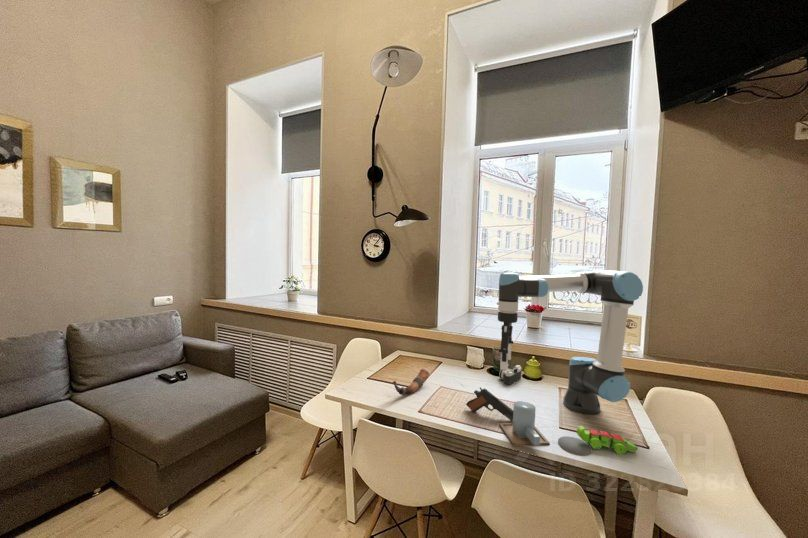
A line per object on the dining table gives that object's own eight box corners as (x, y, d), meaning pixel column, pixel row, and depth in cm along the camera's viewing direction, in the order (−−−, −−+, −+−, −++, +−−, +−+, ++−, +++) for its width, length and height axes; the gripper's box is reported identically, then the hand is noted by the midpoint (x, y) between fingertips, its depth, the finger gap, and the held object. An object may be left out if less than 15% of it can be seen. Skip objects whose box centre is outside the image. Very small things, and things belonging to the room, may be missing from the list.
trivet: (579, 438, 123) (579, 436, 123) (598, 456, 112) (598, 453, 112) (552, 438, 123) (552, 436, 122) (568, 456, 112) (568, 454, 112)
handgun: (466, 403, 145) (479, 383, 142) (503, 433, 137) (518, 413, 134) (464, 405, 143) (478, 385, 140) (502, 436, 135) (517, 415, 132)
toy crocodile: (631, 449, 118) (633, 433, 118) (639, 460, 111) (642, 443, 111) (573, 435, 123) (575, 420, 122) (577, 445, 116) (580, 429, 116)
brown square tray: (531, 425, 132) (532, 422, 132) (549, 445, 118) (549, 442, 118) (499, 425, 131) (499, 423, 131) (512, 445, 117) (513, 443, 117)
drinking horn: (430, 385, 170) (431, 366, 169) (397, 404, 146) (398, 383, 146) (421, 382, 173) (422, 364, 172) (388, 401, 149) (388, 380, 149)
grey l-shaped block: (509, 427, 128) (510, 401, 128) (528, 427, 129) (529, 401, 128) (525, 450, 113) (527, 420, 113) (547, 450, 114) (548, 420, 113)
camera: (509, 375, 187) (510, 359, 187) (523, 380, 181) (524, 362, 181) (495, 382, 176) (496, 364, 176) (509, 387, 170) (510, 369, 170)
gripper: (501, 306, 140) (499, 354, 141) (493, 315, 117) (491, 372, 118) (519, 308, 137) (517, 356, 138) (515, 317, 114) (513, 375, 115)
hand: (505, 364), depth 128 cm, fingers open, 13 cm apart
